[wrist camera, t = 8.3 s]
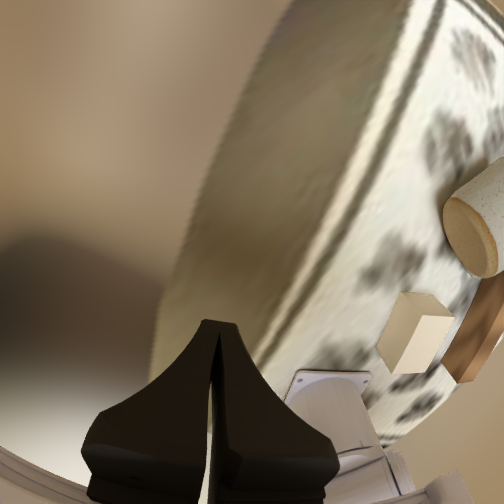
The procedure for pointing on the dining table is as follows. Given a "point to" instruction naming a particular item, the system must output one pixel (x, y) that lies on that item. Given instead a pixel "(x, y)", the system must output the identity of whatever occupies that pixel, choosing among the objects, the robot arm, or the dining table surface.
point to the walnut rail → (477, 331)
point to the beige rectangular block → (413, 333)
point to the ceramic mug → (478, 222)
